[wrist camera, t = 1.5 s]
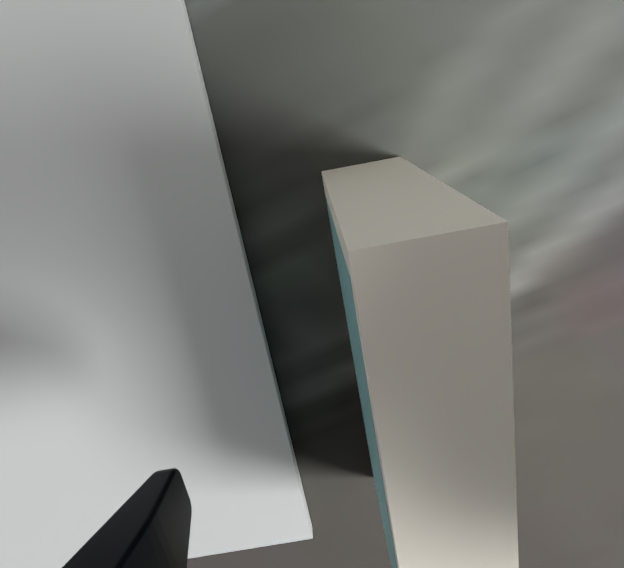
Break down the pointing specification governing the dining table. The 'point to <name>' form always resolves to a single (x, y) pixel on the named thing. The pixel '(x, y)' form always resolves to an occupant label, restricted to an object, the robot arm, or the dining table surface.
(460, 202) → the block
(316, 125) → the dining table surface
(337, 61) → the dining table surface
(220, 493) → the mat
